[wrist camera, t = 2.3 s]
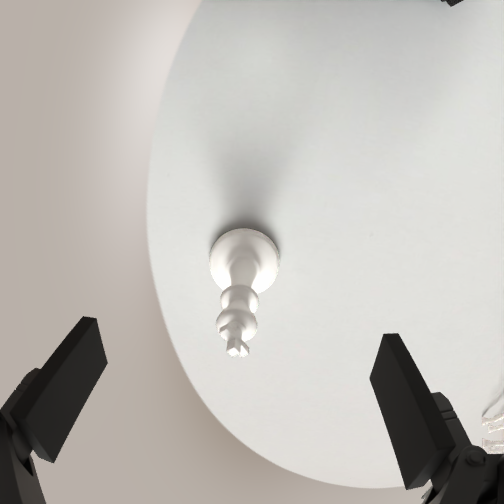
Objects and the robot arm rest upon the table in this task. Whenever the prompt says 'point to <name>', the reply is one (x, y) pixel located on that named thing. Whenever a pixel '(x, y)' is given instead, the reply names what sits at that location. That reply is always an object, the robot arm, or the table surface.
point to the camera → (452, 2)
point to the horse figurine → (490, 429)
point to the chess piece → (241, 282)
